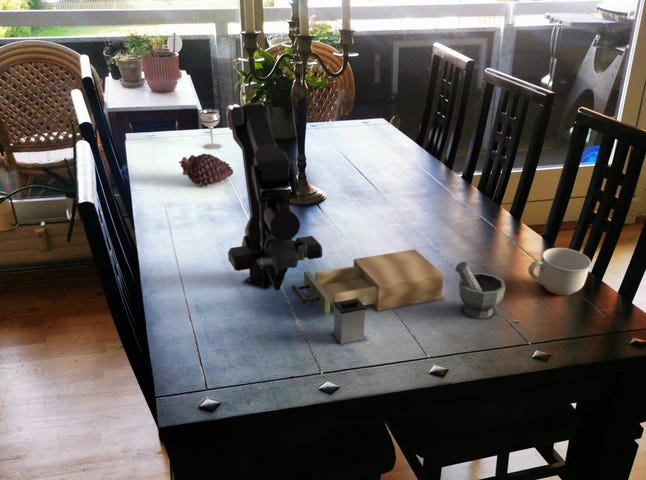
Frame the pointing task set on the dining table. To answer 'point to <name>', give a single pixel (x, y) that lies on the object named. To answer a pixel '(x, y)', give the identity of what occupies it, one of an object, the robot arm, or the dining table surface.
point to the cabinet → (402, 278)
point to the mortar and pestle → (479, 291)
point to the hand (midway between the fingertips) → (276, 289)
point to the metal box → (349, 320)
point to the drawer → (336, 288)
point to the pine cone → (205, 169)
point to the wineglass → (210, 122)
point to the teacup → (561, 270)
